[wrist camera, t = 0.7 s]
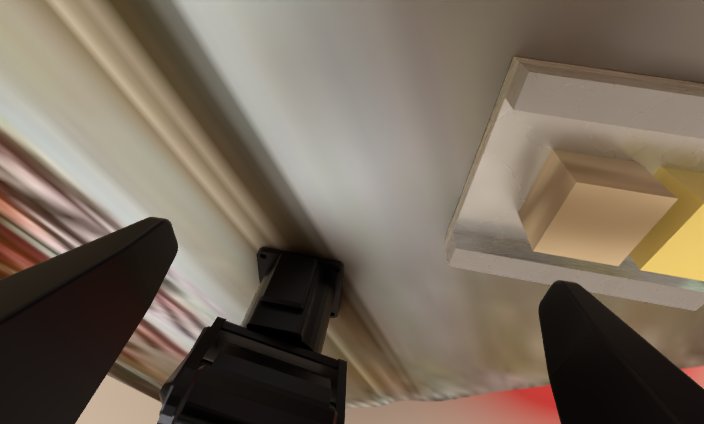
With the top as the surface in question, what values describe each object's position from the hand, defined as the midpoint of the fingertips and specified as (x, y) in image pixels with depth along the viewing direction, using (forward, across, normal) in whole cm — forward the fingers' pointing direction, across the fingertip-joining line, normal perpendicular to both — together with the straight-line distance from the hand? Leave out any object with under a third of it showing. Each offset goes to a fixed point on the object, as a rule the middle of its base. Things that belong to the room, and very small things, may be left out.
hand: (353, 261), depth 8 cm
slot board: (+11, -12, +3) cm, 17 cm away
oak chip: (+10, -10, +3) cm, 15 cm away
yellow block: (+10, -15, +3) cm, 19 cm away
